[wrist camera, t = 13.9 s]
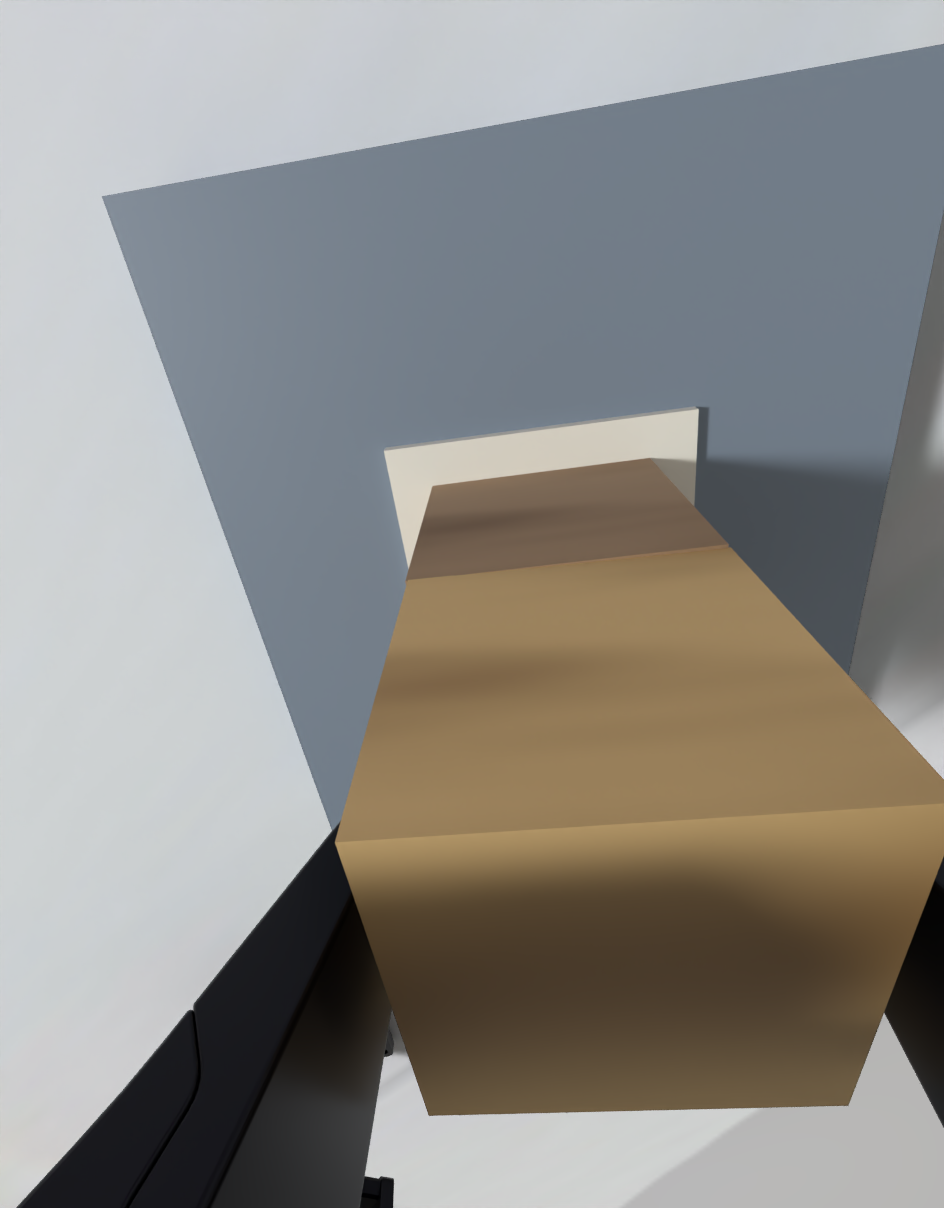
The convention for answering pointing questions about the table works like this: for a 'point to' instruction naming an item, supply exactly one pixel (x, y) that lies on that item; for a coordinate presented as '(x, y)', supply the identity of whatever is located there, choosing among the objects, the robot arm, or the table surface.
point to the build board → (549, 342)
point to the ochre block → (632, 843)
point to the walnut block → (557, 520)
